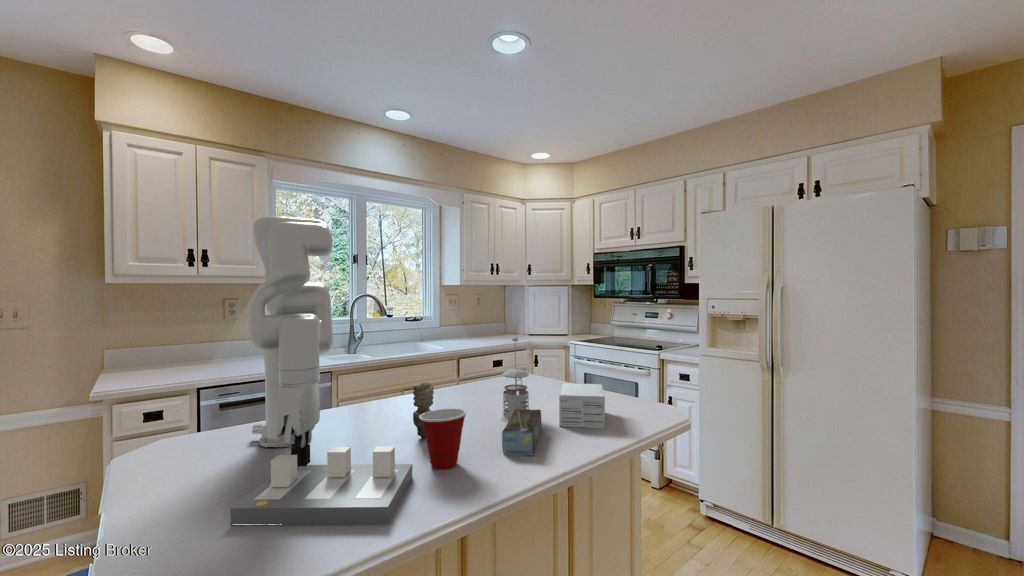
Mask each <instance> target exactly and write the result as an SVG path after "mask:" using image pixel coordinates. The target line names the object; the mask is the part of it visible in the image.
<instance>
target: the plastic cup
mask: <svg viewBox="0 0 1024 576" xmlns="http://www.w3.org/2000/svg"><path fill="white" fill-rule="evenodd" d="M466 415H467V409H466V410H465V409H462V408H441V409H440V408H439V409H433V410H431V411H429V412H426V413H423V414H421V415H419V419H420V420H421V422H422V425H423V428H424V431H425V436H426V438H425V440H426V447H427V452H428V455H429V462H430V465H431V468H433V469H436V470H438V471H439V470H441V471H442V470H443V471H444V470H449V469H452V468H455V467H456V466H457V462H458V459H459V452H460V449H461V448H460V447H461V441H462V440H461V439H462V432H463V427H464V422H465V417H466Z"/></svg>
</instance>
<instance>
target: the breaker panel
mask: <svg viewBox="0 0 1024 576" xmlns="http://www.w3.org/2000/svg"><path fill="white" fill-rule="evenodd" d="M351 467H352V470H351V471H350V472H349V473H348V474H347V475H346V477H327V473H328V466H327V464H308V465H307V466H297V475H298V479H297V480H296V481H295V482H294V483H293V484H292V485H291V486H289V487H270V483H271V476H270V477H269V478H267V479H266V480H265V481H264V482H262V483H261V484H260V485H259V486H257V487H256V488H255V489H254V490H252V491H250V493H249V494H247V495H246V496H245V497H243V498H242V499H241V500H239V501H238V502H237V503H236V504H235V505H233V506H231V508H230V525H231V524H266V525H265V526H268V525H267V524H278V525H277V526H280V525H279V524H282V525H281V526H344V525H345V526H347V525H349V526H353V525H355V526H356V525H358V526H359V525H370V526H372V525H389V523H390V521H391V520H392V518H393V516H394V514H395V512H396V510H397V509H398V506H399V504H400V503H401V501H402V499H403V497H404V495H405V493H406V491H407V489H408V487H409V485H410V484H411V482H412V479H413V464H412V463H395V471H394V472H393V474H392V475H391V477H372V474H373V463H372V464H367V463H366V464H351Z"/></svg>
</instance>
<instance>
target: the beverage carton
mask: <svg viewBox="0 0 1024 576" xmlns="http://www.w3.org/2000/svg"><path fill="white" fill-rule="evenodd" d="M542 426H543V424H542V410H541V409H528V408H527V409H525V410H520V409H515V411H514V413H513V414H512V416H511V418H510V420H509V421H508V423H506V425H505V427H504V429H503V430H502V432H501V437H502V438H501V439H502V440H501V441H502V443H501V444H502V445H501V446H502V454H503V455H505V456H519V455H530V456H529V457H534V455H535V451H536V449H535V448H537V446H538V442H539V441H540V436H541V433H542V431H543V429H542ZM531 455H532V456H531Z"/></svg>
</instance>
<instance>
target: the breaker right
mask: <svg viewBox="0 0 1024 576" xmlns="http://www.w3.org/2000/svg"><path fill="white" fill-rule="evenodd" d="M395 449H396V448H395V445H394V446H391V445H390V446H376V447H375V448H374V449H373V451H372V464H373V474H372V477H391V475H392V474H393V472H394V471H395V464H396V462H395V461H396V458H395V457H396V452H395V451H396V450H395Z"/></svg>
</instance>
